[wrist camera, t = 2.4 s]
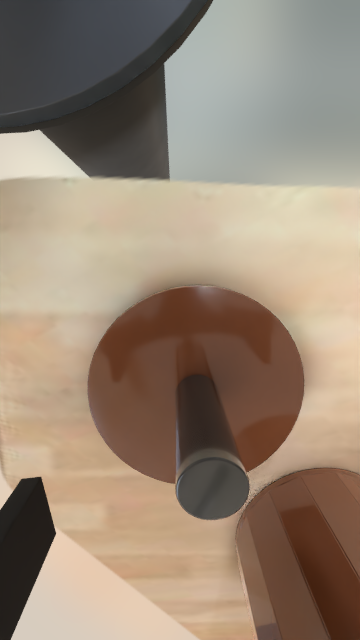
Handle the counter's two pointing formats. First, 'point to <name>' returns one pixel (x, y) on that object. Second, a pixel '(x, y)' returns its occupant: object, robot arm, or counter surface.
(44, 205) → the counter surface
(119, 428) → the crock lid
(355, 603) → the crock
